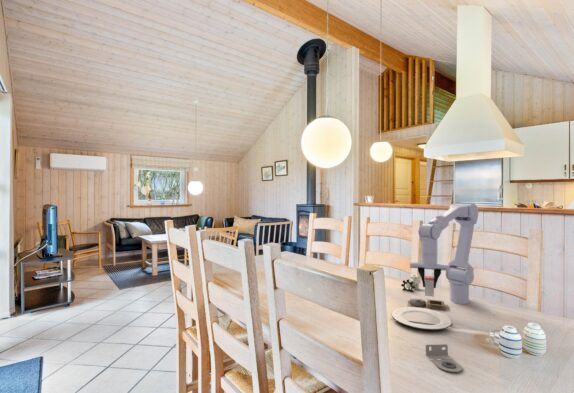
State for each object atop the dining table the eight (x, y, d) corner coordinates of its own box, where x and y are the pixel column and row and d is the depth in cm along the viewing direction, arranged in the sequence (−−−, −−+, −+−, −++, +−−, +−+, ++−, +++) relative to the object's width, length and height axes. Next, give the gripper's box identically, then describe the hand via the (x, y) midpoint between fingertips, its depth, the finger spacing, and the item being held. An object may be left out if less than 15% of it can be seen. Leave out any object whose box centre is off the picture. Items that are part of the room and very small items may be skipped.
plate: (456, 337, 104) (456, 332, 104) (391, 329, 112) (391, 323, 112) (447, 315, 124) (447, 310, 124) (392, 309, 131) (392, 304, 131)
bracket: (443, 375, 83) (443, 362, 83) (425, 356, 93) (425, 344, 93) (467, 374, 83) (467, 361, 83) (447, 355, 93) (447, 344, 93)
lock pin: (424, 293, 128) (424, 275, 128) (433, 294, 127) (433, 276, 127) (425, 295, 126) (425, 277, 125) (433, 296, 124) (433, 278, 124)
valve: (410, 286, 163) (401, 291, 154) (409, 273, 163) (400, 278, 154) (423, 288, 159) (414, 294, 150) (423, 276, 159) (414, 280, 150)
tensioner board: (407, 302, 138) (407, 295, 138) (448, 307, 132) (448, 300, 132) (407, 308, 131) (407, 301, 131) (450, 313, 125) (450, 306, 125)
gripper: (409, 253, 125) (409, 287, 125) (450, 256, 120) (450, 291, 120) (410, 251, 132) (410, 283, 132) (448, 253, 126) (448, 287, 126)
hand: (429, 287), depth 126 cm, fingers closed on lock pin, 3 cm apart
